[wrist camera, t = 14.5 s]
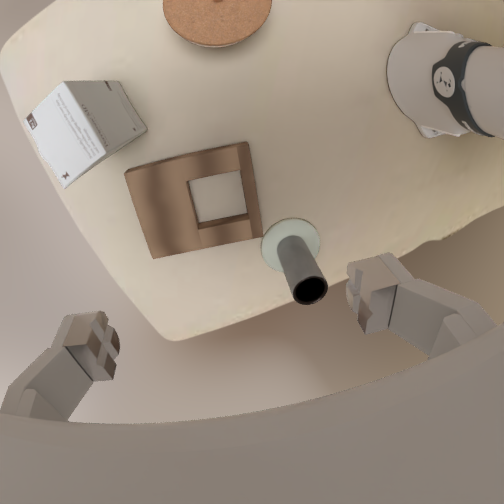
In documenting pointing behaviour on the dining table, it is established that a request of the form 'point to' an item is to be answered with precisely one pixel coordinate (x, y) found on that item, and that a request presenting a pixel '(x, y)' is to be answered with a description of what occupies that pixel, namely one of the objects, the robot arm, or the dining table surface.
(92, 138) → the skincare box
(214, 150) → the pocket board
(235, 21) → the lidded jar
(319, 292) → the grey cylinder
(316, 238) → the saucer
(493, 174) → the dining table surface
